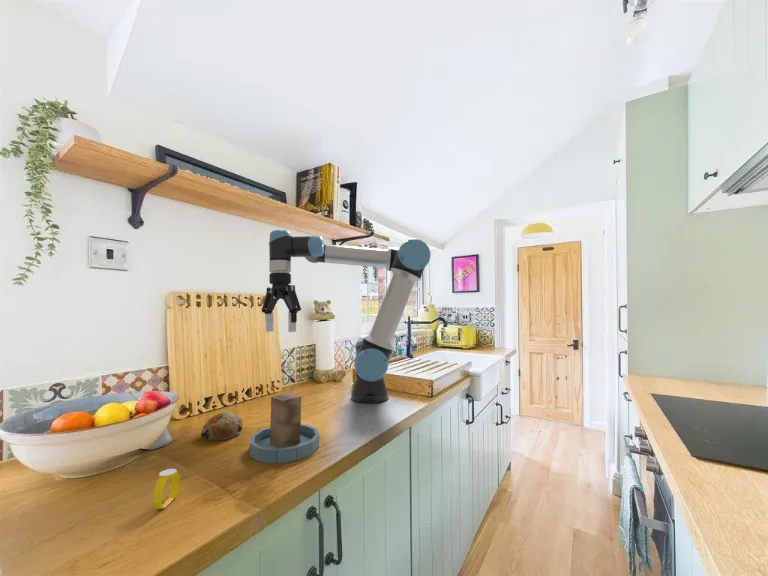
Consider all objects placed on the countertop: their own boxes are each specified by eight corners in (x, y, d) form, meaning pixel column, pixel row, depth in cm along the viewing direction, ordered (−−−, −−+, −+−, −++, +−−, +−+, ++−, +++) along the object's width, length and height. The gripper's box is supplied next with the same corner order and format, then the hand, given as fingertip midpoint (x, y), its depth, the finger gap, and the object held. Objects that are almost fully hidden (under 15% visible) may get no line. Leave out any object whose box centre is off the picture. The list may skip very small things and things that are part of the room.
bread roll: (229, 454, 88) (244, 426, 89) (193, 440, 86) (208, 412, 87) (237, 439, 97) (250, 414, 98) (204, 427, 95) (218, 401, 97)
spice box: (288, 437, 88) (289, 392, 88) (300, 442, 84) (301, 396, 85) (269, 443, 84) (271, 396, 84) (281, 449, 80) (282, 400, 81)
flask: (153, 452, 81) (155, 411, 81) (130, 449, 82) (132, 409, 83) (177, 440, 88) (179, 403, 88) (155, 438, 89) (157, 401, 90)
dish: (294, 429, 96) (294, 419, 96) (331, 446, 85) (331, 434, 85) (237, 448, 83) (238, 436, 83) (272, 470, 72) (273, 456, 72)
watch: (167, 497, 62) (170, 464, 63) (182, 497, 62) (185, 464, 63) (146, 515, 56) (150, 478, 57) (163, 514, 56) (166, 478, 57)
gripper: (310, 270, 112) (311, 331, 111) (269, 277, 127) (269, 330, 126) (293, 268, 106) (293, 332, 105) (252, 275, 121) (251, 331, 120)
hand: (280, 331), depth 115 cm, fingers open, 13 cm apart
